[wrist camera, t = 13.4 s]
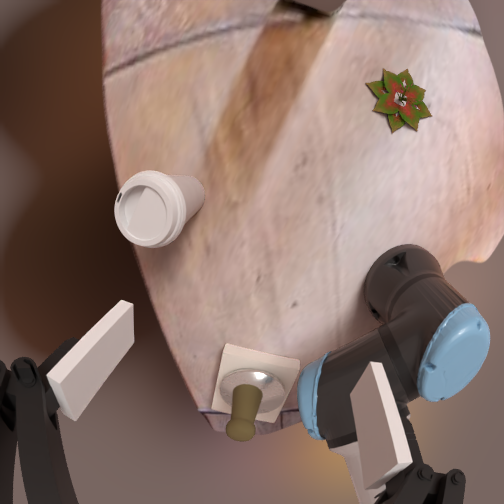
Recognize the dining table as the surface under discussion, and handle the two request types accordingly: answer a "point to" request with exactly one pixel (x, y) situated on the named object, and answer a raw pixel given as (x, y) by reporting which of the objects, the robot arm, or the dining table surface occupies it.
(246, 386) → the cork
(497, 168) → the dining table surface
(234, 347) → the scale base
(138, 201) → the coffee cup
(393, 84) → the lily flower
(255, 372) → the pan
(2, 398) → the robot arm
